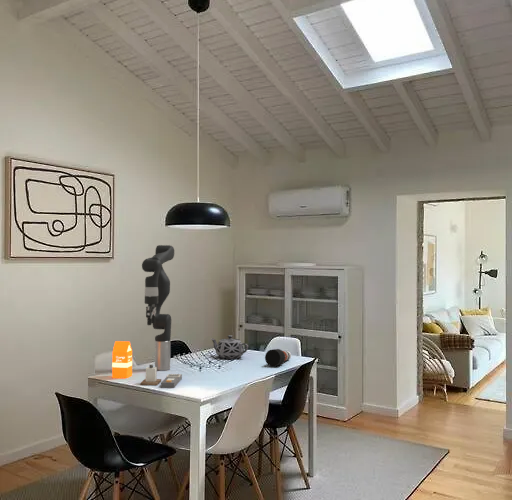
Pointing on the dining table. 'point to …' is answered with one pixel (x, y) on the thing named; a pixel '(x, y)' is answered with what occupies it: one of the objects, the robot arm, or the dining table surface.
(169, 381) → the grey panel with rod
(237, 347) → the teapot
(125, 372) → the orange juice
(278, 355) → the dark cylindrical piece
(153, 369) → the plug
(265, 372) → the dining table surface
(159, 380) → the walnut board
